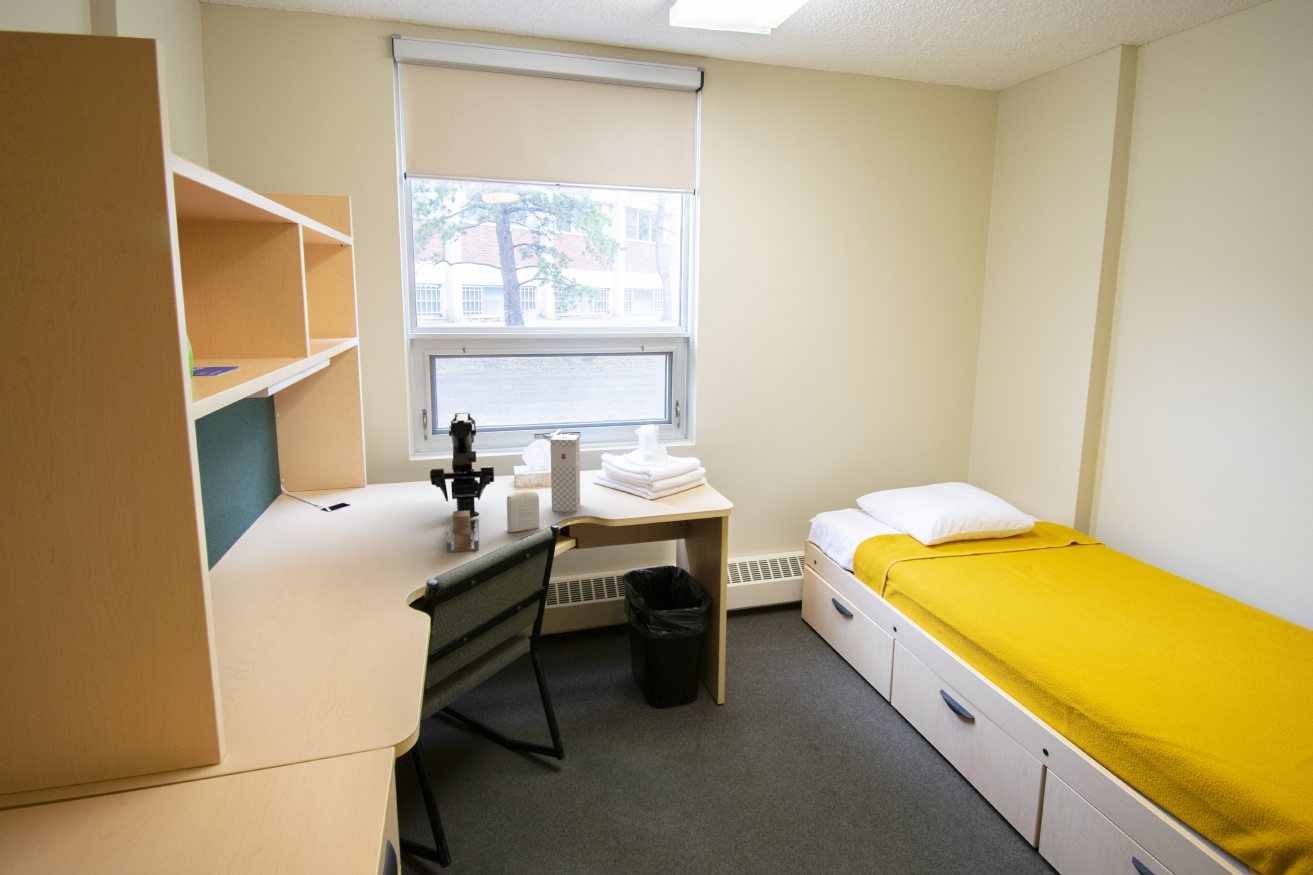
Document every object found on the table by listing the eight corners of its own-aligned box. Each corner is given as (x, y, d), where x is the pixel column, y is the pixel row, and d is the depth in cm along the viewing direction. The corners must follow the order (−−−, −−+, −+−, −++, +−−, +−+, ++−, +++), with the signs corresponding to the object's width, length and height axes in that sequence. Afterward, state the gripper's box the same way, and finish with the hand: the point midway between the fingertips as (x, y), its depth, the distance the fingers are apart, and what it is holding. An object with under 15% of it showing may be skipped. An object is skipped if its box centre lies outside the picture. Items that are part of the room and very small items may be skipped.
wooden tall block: (471, 543, 200) (469, 510, 198) (470, 549, 195) (469, 515, 193) (455, 544, 199) (453, 511, 197) (454, 550, 194) (452, 516, 192)
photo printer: (536, 524, 219) (535, 487, 217) (541, 528, 216) (540, 490, 213) (505, 530, 214) (504, 492, 211) (510, 534, 210) (509, 495, 208)
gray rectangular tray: (450, 530, 213) (450, 520, 212) (479, 528, 215) (478, 519, 215) (447, 552, 194) (446, 542, 193) (478, 550, 196) (478, 540, 196)
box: (576, 511, 233) (575, 439, 228) (551, 511, 233) (550, 439, 228) (580, 504, 241) (579, 435, 236) (556, 503, 241) (555, 434, 236)
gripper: (428, 443, 205) (427, 488, 196) (492, 440, 209) (494, 485, 201) (432, 462, 214) (431, 506, 206) (493, 459, 218) (495, 502, 210)
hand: (463, 500), depth 205 cm, fingers open, 9 cm apart
